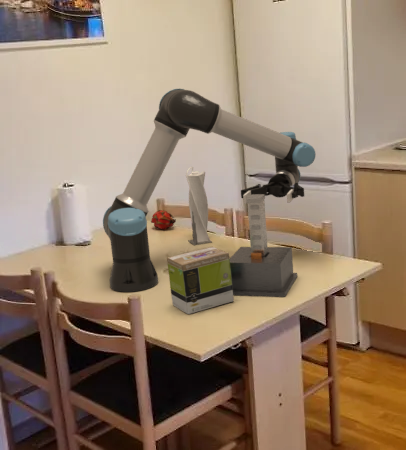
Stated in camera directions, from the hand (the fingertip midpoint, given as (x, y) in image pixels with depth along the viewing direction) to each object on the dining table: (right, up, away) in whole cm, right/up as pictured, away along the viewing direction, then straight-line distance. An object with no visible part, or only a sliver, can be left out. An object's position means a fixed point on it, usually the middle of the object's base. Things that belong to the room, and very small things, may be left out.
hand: (266, 199), depth 212 cm
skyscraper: (-20, -14, +51) cm, 57 cm away
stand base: (-2, -26, -3) cm, 26 cm away
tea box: (-19, -31, -14) cm, 39 cm away
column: (-2, -24, -4) cm, 24 cm away
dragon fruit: (-35, -10, +75) cm, 83 cm away
